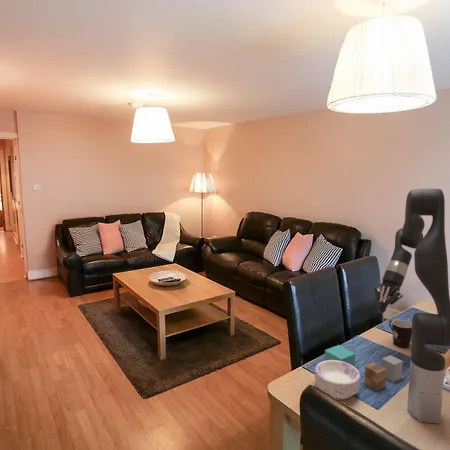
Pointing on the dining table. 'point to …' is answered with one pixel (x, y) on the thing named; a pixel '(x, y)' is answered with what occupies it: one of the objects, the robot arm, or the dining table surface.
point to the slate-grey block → (392, 368)
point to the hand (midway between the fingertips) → (380, 311)
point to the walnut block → (375, 376)
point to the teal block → (340, 355)
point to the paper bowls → (337, 378)
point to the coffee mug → (401, 333)
